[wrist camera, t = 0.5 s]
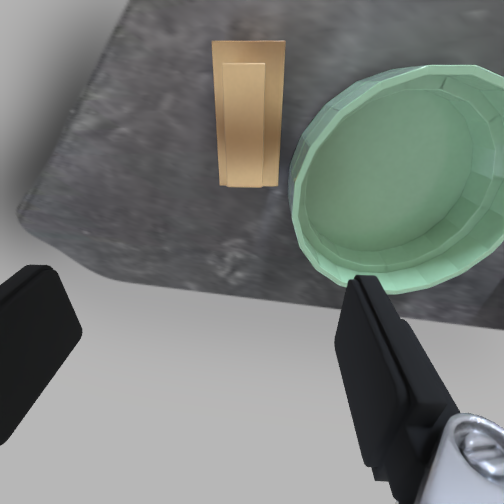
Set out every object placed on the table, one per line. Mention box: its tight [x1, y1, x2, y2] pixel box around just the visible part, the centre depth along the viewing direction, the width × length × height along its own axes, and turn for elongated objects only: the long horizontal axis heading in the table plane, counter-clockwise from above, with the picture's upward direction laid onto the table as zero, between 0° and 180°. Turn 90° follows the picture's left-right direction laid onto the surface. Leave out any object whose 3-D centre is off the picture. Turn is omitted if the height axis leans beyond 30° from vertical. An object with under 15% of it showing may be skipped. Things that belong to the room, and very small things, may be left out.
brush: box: [212, 41, 286, 188], centre depth 20 cm, size 10×5×8 cm, turn 0°
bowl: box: [287, 65, 504, 294], centre depth 23 cm, size 17×17×6 cm
